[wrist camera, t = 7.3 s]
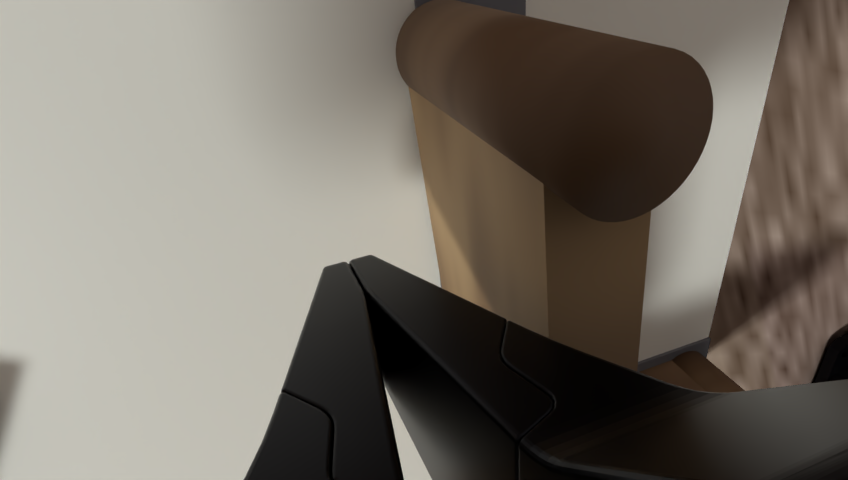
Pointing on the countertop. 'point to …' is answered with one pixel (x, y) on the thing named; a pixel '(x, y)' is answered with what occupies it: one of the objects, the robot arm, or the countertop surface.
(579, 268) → the gate panel
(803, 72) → the countertop surface
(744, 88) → the card
